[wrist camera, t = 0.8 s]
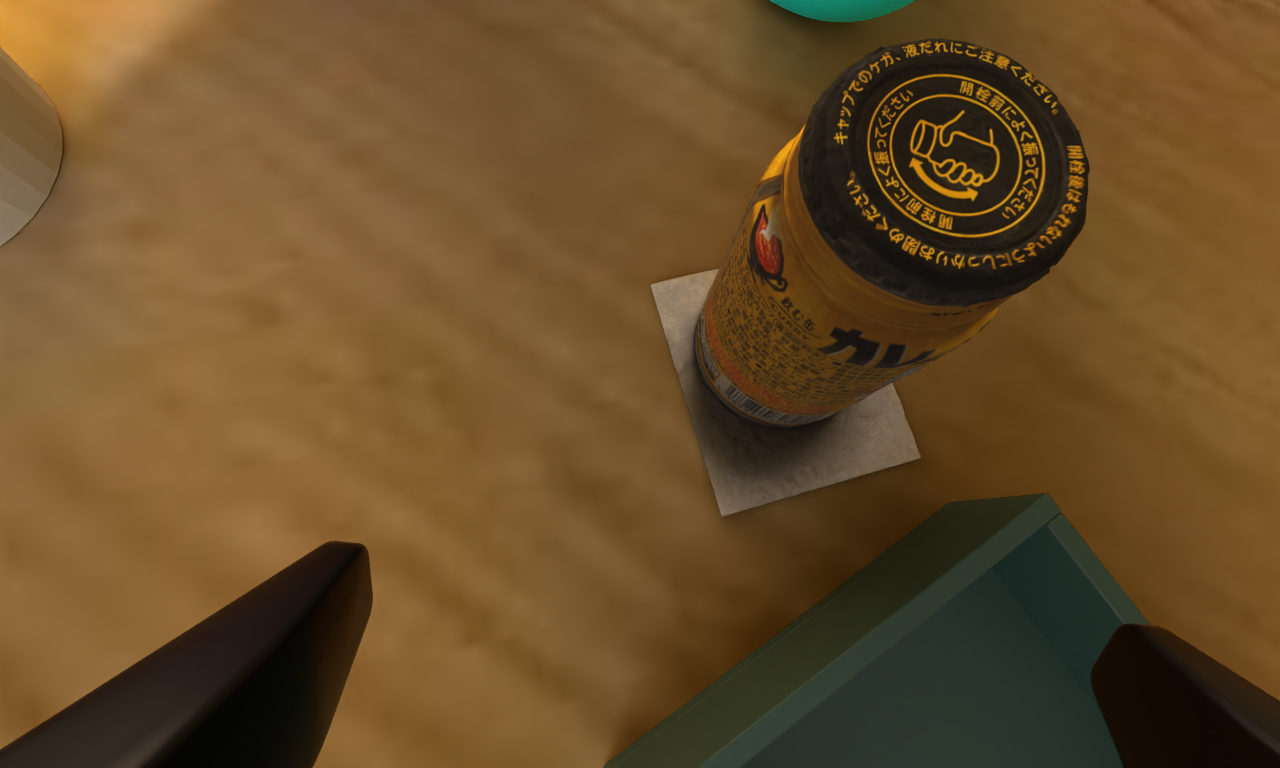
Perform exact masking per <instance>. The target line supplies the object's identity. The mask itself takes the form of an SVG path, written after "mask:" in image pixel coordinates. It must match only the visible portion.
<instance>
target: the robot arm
mask: <svg viewBox="0 0 1280 768" xmlns="http://www.w3.org/2000/svg"><path fill="white" fill-rule="evenodd" d="M372 602H373V592H372V583H371V573H370V563H369V554H368V550H367V548H366V547H365V546H364V545H362V544H360V543H351V542H341V541H330V542H327V543H325V544H323V545H321V546H319V547H318V548H316V549H315V550H313V551H312V552H310V553H308V554H307V555H305V556H304V557H302V558H301V559H299V560H297V561H296V562H294V563H293V564H291V565H290V566H288V567H286V568H285V569H283V570H282V571H280V572H279V573H277V574H275V575H274V576H272V577H271V578H269V579H268V580H266V581H264V582H263V583H261V584H260V585H258V586H257V587H255V588H253V589H252V590H250V591H249V592H247V593H246V594H244V595H242V596H241V597H239V598H238V599H236V600H235V601H233V602H231V603H230V604H228V605H227V606H225V607H224V608H222V609H220V610H219V611H217V612H216V613H214V614H213V615H211V616H209V617H208V618H206V619H205V620H203V621H202V622H200V623H198V624H197V625H195V626H194V627H192V628H191V629H189V630H187V631H186V632H184V633H183V634H181V635H180V636H178V637H176V638H175V639H173V640H172V641H170V642H169V643H167V644H165V645H164V646H162V647H161V648H159V649H158V650H156V651H155V652H153V653H151V654H150V655H148V656H147V657H145V658H144V659H142V660H140V661H139V662H137V663H136V664H134V665H133V666H131V667H129V668H128V669H126V670H125V671H123V672H122V673H120V674H118V675H117V676H115V677H114V678H112V679H111V680H109V681H107V682H106V683H104V684H103V685H101V686H100V687H98V688H96V689H95V690H93V691H92V692H90V693H89V694H87V695H85V696H84V697H82V698H81V699H79V700H78V701H76V702H74V703H73V704H71V705H70V706H68V707H67V708H65V709H63V710H62V711H60V712H59V713H57V714H56V715H54V716H52V717H51V718H49V719H48V720H46V721H45V722H43V723H41V724H40V725H38V726H37V727H35V728H34V729H32V730H30V731H29V732H27V733H26V734H24V735H23V736H21V737H19V738H18V739H16V740H15V741H13V742H12V743H10V744H8V745H7V746H5V747H4V748H2V749H1V750H0V768H313V766H314V764H315V761H316V759H317V757H318V755H319V753H320V750H321V748H322V746H323V743H324V740H325V738H326V735H327V733H328V730H329V727H330V725H331V722H332V719H333V717H334V714H335V711H336V708H337V705H338V703H339V700H340V697H341V694H342V692H343V689H344V686H345V683H346V681H347V678H348V675H349V672H350V669H351V667H352V664H353V661H354V658H355V656H356V653H357V650H358V647H359V644H360V642H361V639H362V636H363V633H364V631H365V628H366V625H367V622H368V620H369V616H370V613H371V609H372ZM1091 686H1092V690H1093V693H1094V695H1095V698H1096V700H1097V703H1098V705H1099V708H1100V710H1101V713H1102V715H1103V718H1104V720H1105V723H1106V725H1107V728H1108V730H1109V733H1110V735H1111V738H1112V740H1113V743H1114V745H1115V748H1116V750H1117V753H1118V755H1119V758H1120V760H1121V763H1122V765H1123V768H1280V701H1279V700H1277V699H1275V698H1274V697H1272V696H1271V695H1269V694H1268V693H1266V692H1264V691H1263V690H1261V689H1260V688H1258V687H1257V686H1255V685H1253V684H1252V683H1250V682H1249V681H1247V680H1246V679H1244V678H1242V677H1241V676H1239V675H1238V674H1236V673H1235V672H1233V671H1231V670H1230V669H1228V668H1227V667H1225V666H1224V665H1222V664H1220V663H1219V662H1217V661H1216V660H1214V659H1213V658H1211V657H1209V656H1208V655H1206V654H1205V653H1203V652H1202V651H1200V650H1198V649H1197V648H1195V647H1194V646H1192V645H1191V644H1189V643H1187V642H1186V641H1184V640H1183V639H1181V638H1179V637H1178V636H1176V635H1175V634H1173V633H1172V632H1170V631H1168V630H1166V629H1164V628H1162V627H1158V626H1153V625H1143V624H1134V623H1127V624H1123V625H1121V626H1120V627H1118V628H1117V629H1116V630H1115V632H1114V633H1113V635H1112V637H1111V638H1110V640H1109V641H1108V643H1107V645H1106V646H1105V648H1104V649H1103V651H1102V653H1101V654H1100V656H1099V657H1098V659H1097V661H1096V662H1095V664H1094V665H1093V668H1092V671H1091Z"/></svg>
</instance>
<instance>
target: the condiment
mask: <svg viewBox="0 0 1280 768" xmlns="http://www.w3.org/2000/svg"><path fill="white" fill-rule="evenodd" d="M1089 170H1090V168H1089V162H1088V159H1087V157H1086V154H1085V151H1084V147H1083V144H1082V141H1081V137H1080V134H1079V131H1078V130H1077V129H1076V126H1075V125H1074V123H1073V122H1072V120H1071V119H1070V117H1069V116H1068V114H1067V112H1066V110H1065V108H1064V107H1063V106H1062V105H1061V104H1060V103H1059V101H1058V99H1057V96H1056V95H1055V94H1054V93H1053V92H1052V91H1051V90H1050V89H1049V88H1048V87H1046V86H1045V85H1044V84H1042V83H1041V82H1040V81H1039V80H1038V79H1037V78H1036V77H1035V76H1033V75H1032V74H1031V73H1029V72H1028V71H1027V70H1026V69H1025V68H1024V67H1023V66H1022V65H1020V64H1019V63H1018V62H1016V61H1014V60H1013V59H1011V58H1010V57H1008V56H1006V55H1003V54H1000V53H998V52H995V51H993V50H990V49H986V48H983V47H980V46H977V45H975V44H971V43H967V42H963V41H955V40H948V39H923V40H919V41H914V42H906V43H901V44H897V45H891V46H886V47H880V48H878V49H877V50H875V51H873V52H871V53H869V54H867V55H866V56H864V57H863V58H862V59H861V60H860V61H858V62H856V63H855V64H853V65H851V66H850V67H848V68H847V69H845V70H844V71H843V72H842V73H841V74H840V75H839V76H838V77H837V78H836V80H835V81H834V82H833V83H832V84H831V85H830V86H829V87H828V88H827V89H826V90H825V91H824V92H823V93H821V95H820V97H819V99H818V101H817V102H816V103H815V104H814V106H813V107H812V110H811V113H810V115H809V117H808V120H807V123H806V124H805V125H804V127H803V128H802V130H801V131H800V133H799V134H798V135H797V136H796V137H795V138H793V139H792V140H791V141H789V142H788V143H787V144H786V145H785V146H784V148H783V149H782V150H781V151H780V152H779V153H778V154H777V155H776V156H775V157H774V158H773V159H772V160H771V161H770V162H769V164H768V167H767V168H766V169H765V171H764V173H763V174H762V176H761V178H760V180H759V181H758V182H757V184H756V185H755V189H754V190H753V192H752V195H751V197H750V198H749V200H748V203H747V206H746V210H745V213H744V216H743V217H742V219H741V221H740V223H739V226H738V227H737V229H736V230H735V232H734V234H733V238H732V242H731V244H730V246H729V248H728V250H727V253H726V255H725V257H724V260H723V262H722V264H721V267H720V268H719V269H714V270H710V271H706V272H700V273H696V274H691V275H687V276H683V277H678V278H674V279H670V280H666V281H662V282H658V283H655V284H651V288H652V292H653V295H654V298H655V302H656V305H657V308H658V312H659V315H660V318H661V322H662V325H663V329H664V332H665V335H666V338H667V341H668V344H669V348H670V352H671V355H672V358H673V362H674V365H675V368H676V371H677V373H678V378H679V381H680V384H681V387H682V390H683V393H684V396H685V400H686V403H687V406H688V409H689V411H690V415H691V418H692V421H693V424H694V428H695V432H696V435H697V438H698V442H699V445H700V448H701V452H702V455H703V459H704V462H705V465H706V468H707V471H708V474H709V477H710V479H711V482H712V486H713V489H714V492H715V496H716V499H717V502H718V506H719V509H720V512H721V516H722V517H723V516H726V515H730V514H733V513H737V512H740V511H743V510H746V509H750V508H753V507H756V506H760V505H763V504H767V503H770V502H773V501H777V500H780V499H783V498H786V497H790V496H794V495H797V494H800V493H803V492H807V491H811V490H814V489H817V488H821V487H824V486H828V485H831V484H834V483H838V482H842V481H845V480H848V479H851V478H855V477H858V476H861V475H865V474H868V473H872V472H875V471H879V470H882V469H885V468H888V467H892V466H896V465H899V464H902V463H906V462H909V461H912V460H916V459H919V458H921V456H920V453H919V451H918V448H917V446H916V443H915V439H914V436H913V434H912V431H911V429H910V426H909V424H908V422H907V420H906V417H905V414H904V410H903V407H902V404H901V401H900V399H899V397H898V395H897V393H896V391H895V388H894V385H893V382H894V381H896V380H898V379H900V378H902V377H903V376H907V375H910V374H911V373H913V372H915V371H917V370H920V369H921V368H923V367H924V366H926V365H927V364H928V363H930V362H932V361H935V360H937V359H938V358H940V357H941V356H943V355H945V354H947V353H949V352H950V351H952V350H954V349H955V348H957V347H959V346H960V345H962V344H964V343H966V342H967V341H969V340H970V339H971V338H972V337H973V336H974V335H976V334H977V333H978V332H979V331H981V330H982V329H983V328H984V327H985V326H986V325H987V324H988V323H989V321H990V320H991V319H992V317H993V316H994V315H995V314H996V312H997V310H998V308H999V307H1000V306H1001V304H1002V303H1004V302H1005V301H1006V300H1007V299H1009V298H1010V297H1011V296H1012V295H1014V294H1017V293H1019V292H1021V291H1023V290H1025V289H1026V288H1028V287H1029V286H1030V285H1031V284H1032V283H1034V282H1036V281H1038V280H1040V279H1041V278H1042V277H1044V276H1045V275H1046V274H1048V273H1049V270H1050V267H1052V266H1054V265H1056V264H1057V263H1058V262H1059V261H1060V259H1061V258H1062V257H1063V256H1064V254H1065V252H1066V251H1067V249H1068V248H1069V247H1070V245H1071V244H1072V242H1073V241H1074V239H1075V238H1076V237H1077V236H1078V234H1079V233H1080V231H1081V230H1082V228H1083V226H1084V223H1085V218H1086V202H1087V195H1088V174H1089Z"/></svg>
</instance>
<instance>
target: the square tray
mask: <svg viewBox="0 0 1280 768" xmlns="http://www.w3.org/2000/svg"><path fill="white" fill-rule="evenodd" d="M1060 512H1061V510H1060V509H1059V507H1058V506H1057V505H1056V503H1055V502H1054V501H1053V500H1052V498H1051V497H1050V496H1049V495H1048V494H1047V493H1043V494H1032V495H1022V496H1011V497H1000V498H990V499H979V500H968V501H959V502H950V503H948V504H947V505H946V506H944V507H943V508H942V509H940V510H939V511H938V512H936V513H935V514H934V515H932V516H931V517H930V518H928V519H927V520H926V521H925V522H923V523H922V524H921V525H919V526H918V527H917V528H915V529H914V530H913V531H911V532H910V533H909V534H908V535H906V536H905V537H904V538H902V539H901V540H900V541H898V542H897V543H896V544H894V545H893V546H892V547H890V548H889V549H888V550H887V551H885V552H884V553H883V554H881V555H880V556H879V557H877V558H876V559H875V560H873V561H872V562H871V563H869V564H868V565H867V566H866V567H864V568H863V569H862V570H860V571H859V572H858V573H856V574H855V575H854V576H852V577H851V578H850V579H848V580H847V581H846V582H845V583H843V584H842V585H841V586H839V587H838V588H837V589H835V590H834V591H833V592H831V593H830V594H829V595H827V596H826V597H825V598H824V599H822V600H821V601H820V602H818V603H817V604H816V605H814V606H813V607H812V608H810V609H809V610H808V611H806V612H805V613H804V614H803V615H801V616H800V617H799V618H797V619H796V620H795V621H793V622H792V623H791V624H789V625H788V626H787V627H785V628H784V629H783V630H782V631H780V632H779V633H778V634H776V635H775V636H774V637H772V638H771V639H770V640H768V641H767V642H766V643H765V644H763V645H762V646H761V647H759V648H758V649H757V650H755V651H754V652H753V653H751V654H750V655H749V656H747V657H746V658H745V659H744V660H742V661H741V662H740V663H738V664H737V665H736V666H734V667H733V668H732V669H730V670H729V671H728V672H726V673H725V674H724V675H723V676H721V677H720V678H719V679H717V680H716V681H715V682H713V683H712V684H711V685H709V686H708V687H707V688H705V689H704V690H703V691H702V692H700V693H699V694H698V695H696V696H695V697H694V698H692V699H691V700H690V701H688V702H687V703H686V704H684V705H683V706H682V707H681V708H679V709H678V710H677V711H675V712H674V713H673V714H671V715H670V716H669V717H667V718H666V719H665V720H663V721H662V722H661V723H660V724H658V725H657V726H656V727H654V728H653V729H652V730H650V731H649V732H648V733H646V734H645V735H644V736H642V737H641V738H640V739H639V740H637V741H636V742H635V743H633V744H632V745H631V746H629V747H628V748H627V749H625V750H624V751H623V752H622V753H620V754H619V755H618V756H616V757H615V758H614V759H612V760H611V761H610V762H608V763H607V764H606V765H605V766H604V768H1123V765H1122V763H1121V760H1120V758H1119V755H1118V753H1117V750H1116V748H1115V745H1114V743H1113V740H1112V738H1111V735H1110V733H1109V730H1108V728H1107V725H1106V723H1105V720H1104V718H1103V715H1102V713H1101V710H1100V708H1099V705H1098V703H1097V700H1096V698H1095V695H1094V693H1093V690H1092V686H1091V671H1092V668H1093V665H1094V664H1095V662H1096V661H1097V659H1098V657H1099V656H1100V654H1101V653H1102V651H1103V649H1104V648H1105V646H1106V645H1107V643H1108V641H1109V640H1110V638H1111V637H1112V635H1113V633H1114V632H1115V630H1116V629H1117V628H1118V627H1120V626H1121V625H1123V624H1127V623H1134V624H1143V625H1150V624H1149V622H1148V621H1147V620H1146V618H1145V617H1144V616H1143V615H1142V613H1141V612H1140V611H1139V610H1138V608H1137V607H1136V606H1135V604H1134V603H1133V602H1132V601H1131V599H1130V598H1129V597H1128V596H1127V594H1126V593H1125V592H1124V590H1123V589H1122V588H1121V587H1120V585H1119V584H1118V583H1117V582H1116V580H1115V579H1114V578H1113V576H1112V575H1111V574H1110V573H1109V571H1108V570H1107V569H1106V568H1105V566H1104V565H1103V564H1102V563H1101V561H1100V560H1099V559H1098V557H1097V556H1096V555H1095V554H1094V552H1093V551H1092V550H1091V549H1090V547H1089V546H1088V545H1087V543H1086V542H1085V541H1084V540H1083V538H1082V537H1081V536H1080V535H1079V533H1078V532H1077V531H1076V529H1075V528H1074V527H1073V526H1072V524H1071V523H1070V522H1069V521H1068V519H1067V518H1066V517H1065V515H1064V514H1063V513H1060Z"/></svg>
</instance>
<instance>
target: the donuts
mask: <svg viewBox="0 0 1280 768" xmlns="http://www.w3.org/2000/svg"><path fill="white" fill-rule="evenodd" d="M770 1H771V2H773V3H775V4H777V5H778V6H780V7H782V8H784V9H786V10H789V11H791V12H793V13H796V14H799V15H801V16H804V17H808V18H811V19H815V20H820V21H827V22H857V21H864V20H869V19H873V18H877V17H880V16H884V15H887V14H889V13H892V12H894V11H896V10H898V9H901V8H903V7H905V6H907V5H908V4H910V3H912V2H914V1H916V0H770Z"/></svg>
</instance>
